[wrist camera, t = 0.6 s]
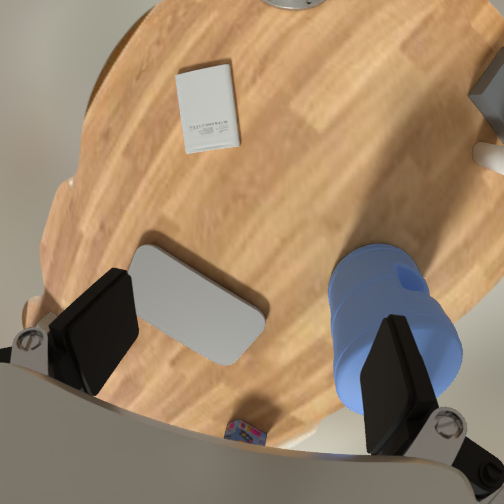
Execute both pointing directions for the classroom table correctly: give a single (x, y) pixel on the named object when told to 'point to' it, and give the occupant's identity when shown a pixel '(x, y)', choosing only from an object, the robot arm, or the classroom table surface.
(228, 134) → the external hard drive
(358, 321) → the water jug
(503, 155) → the peg
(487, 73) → the socket block
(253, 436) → the ink cartridge box
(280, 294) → the classroom table surface
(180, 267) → the tablet
